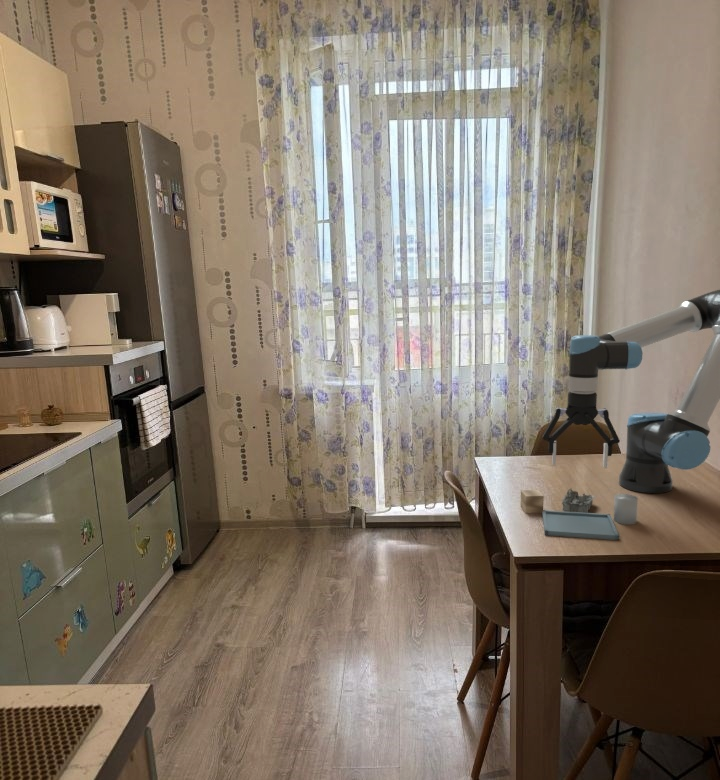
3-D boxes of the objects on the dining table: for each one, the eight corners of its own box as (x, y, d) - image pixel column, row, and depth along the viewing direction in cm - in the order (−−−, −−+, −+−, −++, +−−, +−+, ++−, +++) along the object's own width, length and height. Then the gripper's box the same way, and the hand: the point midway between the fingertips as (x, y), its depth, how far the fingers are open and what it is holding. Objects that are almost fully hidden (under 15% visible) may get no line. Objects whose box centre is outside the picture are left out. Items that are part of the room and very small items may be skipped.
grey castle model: (569, 500, 178) (569, 487, 177) (595, 505, 174) (596, 491, 173) (558, 511, 169) (559, 497, 169) (586, 516, 165) (586, 502, 165)
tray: (609, 518, 163) (610, 514, 163) (618, 540, 149) (619, 535, 149) (542, 514, 167) (542, 510, 167) (544, 535, 153) (544, 530, 153)
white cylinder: (634, 517, 163) (635, 494, 162) (638, 525, 158) (639, 501, 157) (612, 516, 164) (613, 493, 163) (615, 523, 159) (616, 500, 158)
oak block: (537, 506, 173) (538, 489, 172) (543, 512, 168) (543, 495, 168) (520, 507, 173) (520, 490, 172) (525, 513, 168) (525, 496, 168)
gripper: (628, 390, 166) (624, 464, 170) (535, 388, 172) (532, 459, 176) (633, 394, 159) (629, 471, 163) (536, 392, 165) (533, 466, 169)
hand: (579, 465), depth 169 cm, fingers open, 13 cm apart
